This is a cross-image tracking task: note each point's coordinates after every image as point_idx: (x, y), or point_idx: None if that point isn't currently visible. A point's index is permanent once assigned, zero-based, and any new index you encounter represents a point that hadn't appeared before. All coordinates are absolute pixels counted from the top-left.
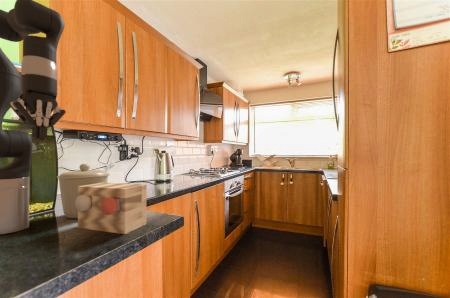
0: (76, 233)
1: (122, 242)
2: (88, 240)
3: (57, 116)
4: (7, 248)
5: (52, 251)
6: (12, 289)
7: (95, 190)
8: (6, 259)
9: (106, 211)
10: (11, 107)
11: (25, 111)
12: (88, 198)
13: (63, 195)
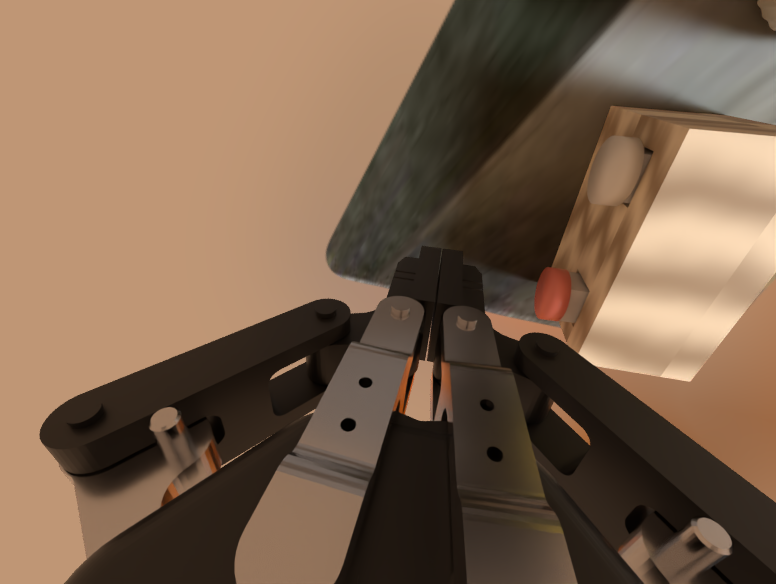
0: (552, 151)
1: (496, 302)
2: (502, 226)
3: (584, 504)
4: (432, 54)
5: (437, 197)
6: (330, 254)
7: (626, 238)
8: (387, 134)
9: (541, 282)
10: (122, 387)
11: (248, 434)
12: (610, 203)
13: None
